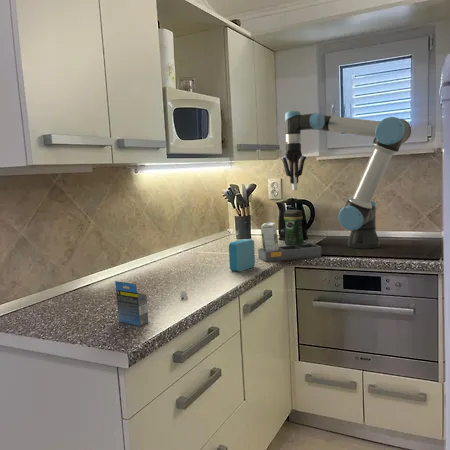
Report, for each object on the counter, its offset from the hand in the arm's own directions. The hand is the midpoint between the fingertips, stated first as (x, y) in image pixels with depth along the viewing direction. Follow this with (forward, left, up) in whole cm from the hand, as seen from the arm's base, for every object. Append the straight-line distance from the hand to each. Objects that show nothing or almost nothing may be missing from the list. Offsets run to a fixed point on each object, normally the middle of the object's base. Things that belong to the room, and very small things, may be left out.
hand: (294, 189), depth 233 cm
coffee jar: (-2, -7, -30) cm, 30 cm away
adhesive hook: (+72, +68, -30) cm, 104 cm away
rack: (+13, +22, -29) cm, 39 cm away
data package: (+40, +35, -30) cm, 61 cm away
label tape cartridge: (+89, +85, -30) cm, 127 cm away
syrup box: (+22, +22, -28) cm, 42 cm away
